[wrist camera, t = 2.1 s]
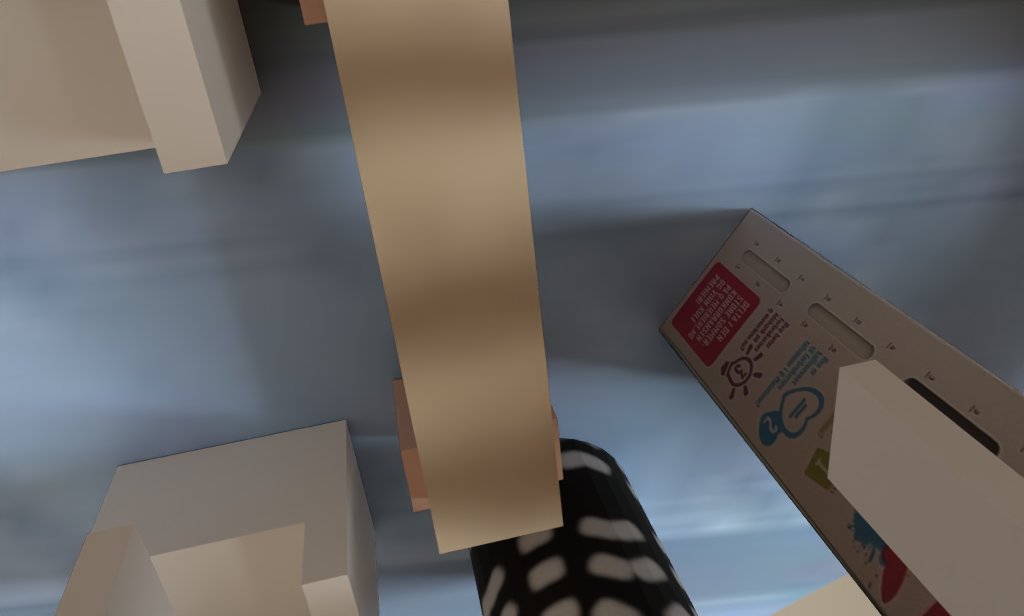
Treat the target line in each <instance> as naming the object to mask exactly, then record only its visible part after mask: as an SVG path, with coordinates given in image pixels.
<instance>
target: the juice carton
mask: <svg viewBox="0 0 1024 616" xmlns="http://www.w3.org/2000/svg"><path fill="white" fill-rule="evenodd" d="M660 331H661V332H660ZM659 332H660V333H661V334H662V336H663V337H664V338H665V339H666V341H667V342H668V343H669V344H670V346H671V347H672V348H673V350H674V351H675V352H676V353H677V355H678V356H679V357H680V359H681V360H682V361H683V362H684V364H685V365H686V366H687V367H688V369H689V370H690V371H691V373H692V374H693V375H694V376H695V378H696V379H697V380H698V382H699V383H700V384H701V385H702V387H703V388H704V389H705V390H706V392H707V393H708V394H709V396H710V397H711V398H712V399H713V401H714V402H715V403H716V405H717V406H718V407H719V408H720V410H721V411H722V412H723V413H724V415H725V416H726V417H727V419H728V420H729V421H730V422H731V424H732V425H733V426H734V428H735V429H736V430H737V431H738V433H739V434H740V435H741V436H742V438H743V439H744V440H745V442H746V443H747V444H748V445H749V447H750V448H751V449H752V451H753V452H754V453H755V454H756V456H757V457H758V458H759V459H760V461H761V462H762V463H763V465H764V466H765V467H766V468H767V470H768V471H769V472H770V474H771V475H772V476H773V477H774V479H775V480H776V481H777V482H778V484H779V485H780V486H781V488H782V489H783V490H784V491H785V493H786V494H787V495H788V497H789V498H790V499H791V500H792V502H793V503H794V504H795V505H796V507H797V508H798V509H799V511H800V512H801V513H802V514H803V516H804V517H805V518H806V520H807V521H808V522H809V523H810V525H811V526H812V527H813V528H814V530H815V531H816V532H817V534H818V535H819V536H820V537H821V539H822V540H823V541H824V543H825V544H826V545H827V546H828V548H829V549H830V550H831V551H832V553H833V554H834V555H835V557H836V558H837V559H838V560H839V562H840V563H841V564H842V566H843V567H844V568H845V569H846V571H847V572H848V573H849V574H850V576H851V577H852V578H853V580H854V581H855V582H856V583H857V585H858V586H859V587H860V588H861V590H862V591H863V592H864V593H865V595H866V596H867V597H868V599H869V600H870V601H871V603H872V604H873V605H874V606H875V608H876V609H877V610H878V611H879V613H880V614H881V615H882V616H951V615H950V614H949V613H948V612H947V611H946V610H945V608H944V607H943V606H942V605H941V604H940V603H939V602H938V601H937V600H936V598H935V597H934V596H933V595H932V594H931V593H930V592H929V591H928V589H927V588H926V587H925V586H924V585H923V584H922V583H921V582H920V581H919V579H918V578H917V577H916V576H915V575H914V574H913V573H912V572H911V570H910V569H909V568H908V567H907V566H906V565H905V564H904V563H903V562H902V560H901V559H900V558H899V557H898V556H897V555H896V554H895V553H894V552H893V550H892V549H891V548H890V547H889V546H888V545H887V544H886V543H885V541H884V540H883V539H882V538H881V537H880V536H879V535H878V534H877V533H876V531H875V530H874V529H873V528H872V527H871V526H870V525H869V524H868V522H867V521H866V520H865V519H864V518H863V517H862V516H861V515H860V514H859V512H858V511H857V510H856V509H855V508H854V507H853V506H852V505H851V504H850V502H849V501H848V500H847V499H846V498H845V497H844V496H843V495H842V493H841V492H840V491H839V490H838V489H837V488H836V487H835V486H834V485H833V483H832V482H831V481H830V480H829V479H828V478H827V477H828V468H829V459H830V449H831V440H832V431H833V422H834V413H835V404H836V395H837V385H838V376H839V367H844V366H848V365H853V364H857V363H862V362H866V361H871V360H877V361H878V362H879V363H880V364H882V365H883V366H884V367H885V368H887V369H888V370H889V371H890V372H892V373H893V374H894V375H895V376H897V377H898V378H899V379H900V380H902V381H903V382H904V383H905V384H907V385H908V386H909V387H910V388H912V389H913V390H914V391H915V392H917V393H918V394H919V395H920V396H922V397H923V398H924V399H925V400H927V401H928V402H929V403H930V404H932V405H933V406H934V407H935V408H937V409H938V410H939V411H940V412H942V413H943V414H944V415H945V416H947V417H948V418H949V419H950V420H952V421H953V422H954V423H955V424H957V425H958V426H959V427H960V428H962V429H963V430H964V431H965V432H967V433H968V434H969V435H970V436H972V437H973V438H974V439H975V440H977V441H978V442H979V443H980V444H982V445H983V446H984V447H985V448H987V449H988V450H989V451H990V452H992V453H993V454H994V455H995V456H997V457H998V458H999V459H1000V460H1002V461H1003V462H1004V463H1005V464H1007V465H1008V466H1009V467H1010V468H1012V469H1013V470H1014V471H1015V472H1017V473H1018V474H1019V475H1020V476H1022V477H1023V478H1024V395H1023V394H1022V393H1020V392H1019V391H1017V390H1016V389H1015V388H1013V387H1012V386H1010V385H1009V384H1007V383H1006V382H1004V381H1003V380H1001V379H1000V378H999V377H997V376H996V375H994V374H993V373H991V372H990V371H988V370H987V369H985V368H984V367H983V366H981V365H980V364H978V363H977V362H975V361H974V360H972V359H971V358H969V357H968V356H967V355H965V354H964V353H962V352H961V351H959V350H958V349H956V348H955V347H953V346H952V345H951V344H949V343H948V342H946V341H945V340H943V339H942V338H940V337H939V336H937V335H936V334H935V333H933V332H932V331H930V330H929V329H927V328H926V327H924V326H923V325H921V324H920V323H919V322H917V321H916V320H914V319H913V318H911V317H910V316H908V315H907V314H905V313H904V312H903V311H901V310H900V309H898V308H897V307H895V306H894V305H892V304H891V303H889V302H888V301H887V300H885V299H884V298H882V297H881V296H879V295H878V294H876V293H875V292H873V291H872V290H871V289H869V288H868V287H866V286H865V285H863V284H862V283H860V282H859V281H857V280H856V279H855V278H853V277H852V276H850V275H849V274H847V273H846V272H844V271H843V270H841V269H840V268H839V267H837V266H836V265H834V264H833V263H831V262H830V261H828V260H827V259H825V258H824V257H823V256H821V255H820V254H818V253H817V252H815V251H814V250H812V249H811V248H809V247H808V246H807V245H805V244H804V243H802V242H801V241H799V240H798V239H796V238H795V237H793V236H792V235H791V234H789V233H788V232H786V231H785V230H783V229H782V228H780V227H779V226H777V225H776V224H775V223H773V222H772V221H770V220H769V219H767V218H766V217H764V216H763V215H761V214H760V213H759V212H757V211H756V210H754V209H753V208H752V209H751V210H750V211H749V212H748V214H747V215H746V216H745V218H744V219H743V220H742V222H741V223H740V224H739V226H738V227H737V228H736V229H735V231H734V232H733V233H732V235H731V236H730V237H729V239H728V240H727V241H726V243H725V244H724V245H723V246H722V248H721V249H720V250H719V252H718V253H717V254H716V256H715V257H714V258H713V259H712V261H711V262H710V263H709V265H708V266H707V267H706V269H705V270H704V271H703V273H702V274H701V275H700V276H699V278H698V279H697V280H696V282H695V283H694V284H693V286H692V287H691V288H690V290H689V291H688V292H687V293H686V295H685V296H684V297H683V299H682V300H681V301H680V303H679V304H678V305H677V307H676V308H675V309H674V310H673V312H672V313H671V314H670V316H669V317H668V318H667V320H666V321H665V322H664V324H663V325H662V326H661V327H660V329H659Z"/></svg>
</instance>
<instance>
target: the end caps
mask: <svg viewBox="0 0 1024 616" xmlns="http://www.w3.org/2000/svg"><path fill="white" fill-rule="evenodd" d="M260 95H261V90H260V86H259V82H258V78H257V74H256V71H255V67H254V63H253V59H252V55H251V51H250V47H249V44H248V40H247V36H246V32H245V28H244V24H243V20H242V16H241V13H240V9H239V5H238V1H237V0H0V172H3V171H9V170H16V169H22V168H29V167H35V166H41V165H48V164H54V163H61V162H67V161H74V160H80V159H86V158H93V157H99V156H106V155H112V154H119V153H125V152H131V151H138V150H144V149H151V148H156V151H157V154H158V157H159V160H160V163H161V166H162V169H163V172H164V174H167V173H173V172H179V171H185V170H192V169H198V168H204V167H210V166H217V165H223V164H228V162H229V159H230V157H231V155H232V153H233V151H234V149H235V147H236V145H237V143H238V141H239V139H240V136H241V134H242V132H243V130H244V128H245V126H246V124H247V122H248V120H249V118H250V116H251V114H252V111H253V109H254V107H255V105H256V103H257V101H258V99H259V97H260ZM130 524H135V526H136V528H137V530H138V532H139V535H140V537H141V539H142V541H143V543H144V546H145V548H146V550H147V552H148V554H149V557H150V559H151V561H152V563H153V565H154V568H155V570H156V572H157V574H158V576H159V579H160V581H161V583H162V585H163V587H164V589H165V592H166V594H167V596H168V598H169V600H170V603H171V605H172V607H173V609H174V611H175V614H176V616H380V615H379V597H378V579H377V560H376V542H375V530H374V526H373V522H372V518H371V514H370V511H369V507H368V503H367V499H366V495H365V491H364V487H363V483H362V480H361V476H360V472H359V468H358V464H357V460H356V456H355V453H354V449H353V445H352V441H351V437H350V433H349V429H348V426H347V422H346V420H342V421H337V422H332V423H327V424H322V425H317V426H313V427H308V428H303V429H298V430H293V431H288V432H283V433H278V434H273V435H269V436H264V437H259V438H254V439H249V440H244V441H239V442H234V443H229V444H224V445H220V446H215V447H210V448H205V449H200V450H195V451H190V452H185V453H180V454H176V455H171V456H166V457H161V458H156V459H151V460H146V461H141V462H136V463H132V464H127V465H122V466H118V467H117V470H116V472H115V475H114V477H113V479H112V482H111V484H110V487H109V489H108V492H107V494H106V496H105V499H104V501H103V504H102V506H101V508H100V511H99V513H98V516H97V518H96V521H95V523H94V525H93V528H92V530H91V533H94V532H98V531H103V530H107V529H112V528H116V527H121V526H125V525H130Z"/></svg>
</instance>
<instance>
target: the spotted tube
mask: <svg viewBox="0 0 1024 616" xmlns="http://www.w3.org/2000/svg"><path fill="white" fill-rule="evenodd" d="M559 442H560V452H561V462H562V472H563V479H562V480H559V490H560V500H561V509H562V519H563V526H561V527H557V528H552V529H548V530H544V531H539V532H535V533H530V534H526V535H522V536H517V537H513V538H509V539H504V540H500V541H496V542H491V543H487V544H483V545H478V546H474V547H470V548H469V551H470V556H471V561H472V566H473V571H474V576H475V580H476V585H477V590H478V595H479V600H480V605H481V610H482V615H483V616H698V614H697V613H696V611H695V609H694V607H693V605H692V603H691V601H690V599H689V597H688V595H687V593H686V591H685V589H684V587H683V585H682V583H681V582H680V580H679V578H678V576H677V574H676V572H675V570H674V568H673V566H672V564H671V562H670V560H669V558H668V556H667V554H666V553H665V551H664V549H663V547H662V545H661V543H660V541H659V539H658V537H657V535H656V533H655V531H654V529H653V527H652V525H651V524H650V522H649V520H648V518H647V516H646V514H645V512H644V510H643V508H642V506H641V504H640V502H639V500H638V498H637V496H636V494H635V493H634V491H633V489H632V487H631V485H630V483H629V481H628V479H627V477H626V475H625V473H624V471H623V469H622V467H621V466H620V465H619V464H618V463H617V461H616V460H615V459H614V458H613V457H612V456H611V455H609V454H608V453H607V452H605V451H604V450H603V449H601V448H599V447H596V446H594V445H592V444H590V443H586V442H581V441H577V440H566V439H559Z"/></svg>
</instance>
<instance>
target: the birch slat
mask: <svg viewBox="0 0 1024 616" xmlns="http://www.w3.org/2000/svg"><path fill="white" fill-rule="evenodd" d="M323 1H324V6H325V11H326V15H327V20H328V25H329V30H330V34H331V39H332V44H333V49H334V53H335V58H336V63H337V68H338V72H339V77H340V82H341V87H342V91H343V96H344V101H345V106H346V110H347V115H348V120H349V125H350V130H351V134H352V139H353V144H354V149H355V153H356V158H357V163H358V168H359V172H360V177H361V182H362V187H363V191H364V196H365V201H366V206H367V210H368V215H369V220H370V225H371V230H372V234H373V239H374V244H375V249H376V253H377V258H378V263H379V268H380V272H381V277H382V282H383V287H384V291H385V296H386V301H387V306H388V310H389V315H390V320H391V325H392V329H393V334H394V339H395V344H396V349H397V353H398V358H399V363H400V368H401V372H402V377H403V382H404V387H405V391H406V396H407V401H408V406H409V410H410V415H411V420H412V425H413V429H414V434H415V439H416V444H417V448H418V453H419V458H420V463H421V468H422V472H423V477H424V482H425V487H426V491H427V496H428V501H429V506H430V510H431V515H432V520H433V525H434V529H435V534H436V539H437V544H438V548H439V553H440V554H443V553H448V552H452V551H457V550H461V549H465V548H470V547H474V546H478V545H483V544H487V543H491V542H496V541H500V540H504V539H509V538H513V537H517V536H522V535H526V534H530V533H535V532H539V531H544V530H548V529H552V528H557V527H561V526H563V519H562V509H561V500H560V490H559V480H558V471H557V461H556V452H555V442H554V433H553V423H552V414H551V404H550V394H549V385H548V375H547V366H546V356H545V347H544V337H543V328H542V318H541V308H540V299H539V289H538V280H537V270H536V261H535V251H534V242H533V232H532V222H531V213H530V203H529V194H528V184H527V175H526V165H525V156H524V146H523V136H522V127H521V117H520V108H519V98H518V89H517V79H516V70H515V60H514V51H513V41H512V31H511V22H510V12H509V3H508V0H323Z"/></svg>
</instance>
